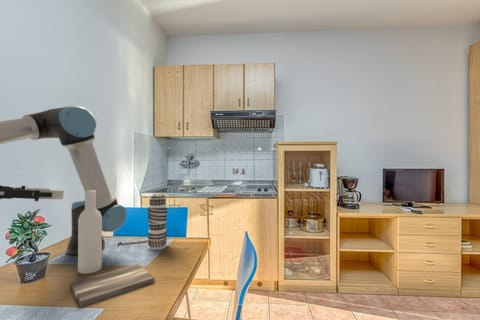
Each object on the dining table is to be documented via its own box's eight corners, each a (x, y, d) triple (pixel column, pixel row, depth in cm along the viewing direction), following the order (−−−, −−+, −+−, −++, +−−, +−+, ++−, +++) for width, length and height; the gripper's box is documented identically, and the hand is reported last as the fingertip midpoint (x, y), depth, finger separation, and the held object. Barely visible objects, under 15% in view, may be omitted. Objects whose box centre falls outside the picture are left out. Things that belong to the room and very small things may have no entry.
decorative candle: (145, 250, 117) (146, 196, 117) (148, 244, 126) (148, 193, 126) (166, 249, 119) (167, 195, 119) (167, 242, 128) (167, 193, 128)
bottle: (90, 275, 92) (90, 192, 92) (72, 272, 94) (72, 191, 94) (106, 266, 100) (107, 189, 100) (90, 264, 102) (90, 189, 101)
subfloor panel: (70, 286, 84) (70, 282, 84) (137, 267, 99) (137, 263, 99) (80, 306, 73) (80, 301, 73) (154, 281, 88) (154, 277, 88)
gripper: (-43, 201, 78) (41, 201, 94) (-30, 209, 63) (67, 208, 79) (-38, 176, 79) (45, 181, 95) (-24, 178, 64) (71, 184, 80)
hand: (55, 193), depth 87 cm, fingers open, 13 cm apart
